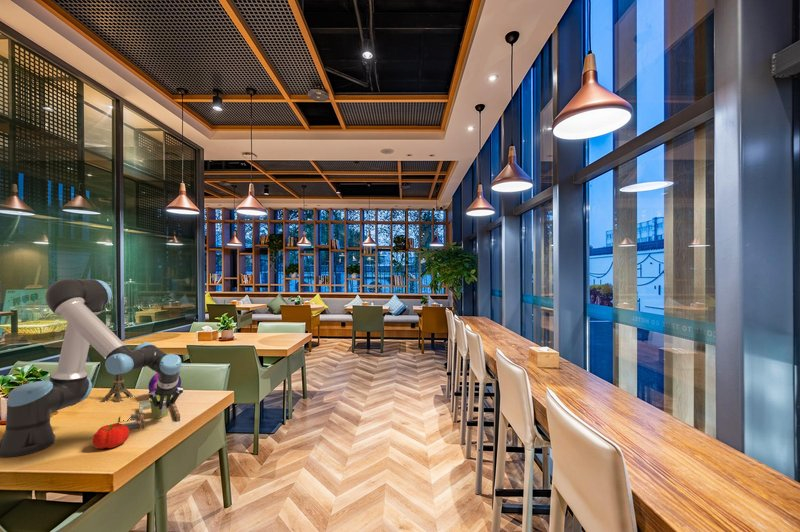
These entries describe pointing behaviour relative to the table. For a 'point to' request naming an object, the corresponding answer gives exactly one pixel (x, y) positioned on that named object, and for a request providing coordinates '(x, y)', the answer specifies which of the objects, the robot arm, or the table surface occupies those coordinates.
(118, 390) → the eiffel tower
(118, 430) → the tomato
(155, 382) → the decorative orb
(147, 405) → the grey and wooden pieces
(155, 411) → the plant pot
